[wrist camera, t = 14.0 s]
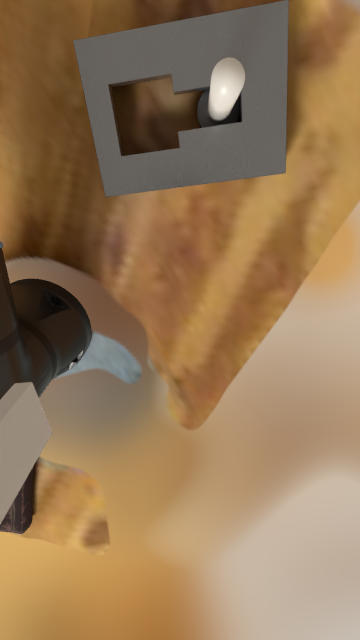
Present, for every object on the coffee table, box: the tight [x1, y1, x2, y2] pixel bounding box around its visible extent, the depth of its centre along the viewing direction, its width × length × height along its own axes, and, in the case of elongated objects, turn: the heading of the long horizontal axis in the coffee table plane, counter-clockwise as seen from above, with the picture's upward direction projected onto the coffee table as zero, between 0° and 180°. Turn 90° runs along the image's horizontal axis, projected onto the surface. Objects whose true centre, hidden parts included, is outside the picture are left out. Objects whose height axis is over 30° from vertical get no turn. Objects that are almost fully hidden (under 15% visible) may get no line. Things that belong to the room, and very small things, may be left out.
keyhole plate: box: [73, 0, 289, 197], centre depth 33 cm, size 20×14×4 cm
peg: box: [197, 57, 245, 128], centre depth 29 cm, size 5×5×14 cm
